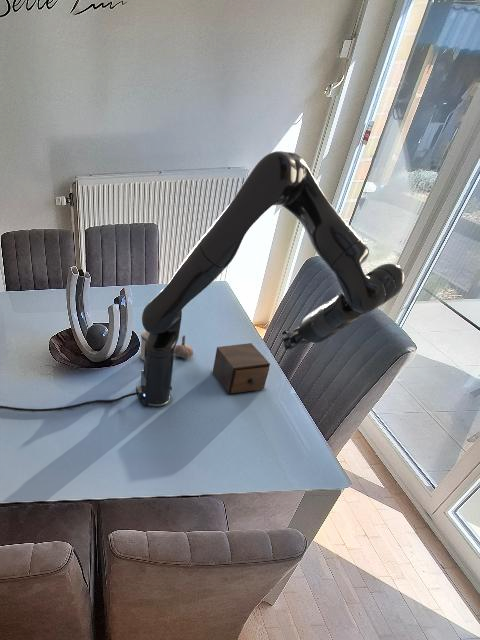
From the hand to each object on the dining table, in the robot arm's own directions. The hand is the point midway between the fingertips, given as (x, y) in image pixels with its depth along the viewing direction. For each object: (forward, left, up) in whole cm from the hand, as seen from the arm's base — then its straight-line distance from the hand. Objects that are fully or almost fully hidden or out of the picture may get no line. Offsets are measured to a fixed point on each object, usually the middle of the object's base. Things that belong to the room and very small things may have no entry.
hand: (287, 346), depth 127 cm
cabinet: (0, +23, -24) cm, 33 cm away
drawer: (0, +21, -23) cm, 31 cm away
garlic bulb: (-13, +44, -24) cm, 52 cm away
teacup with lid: (-23, +46, -24) cm, 57 cm away
